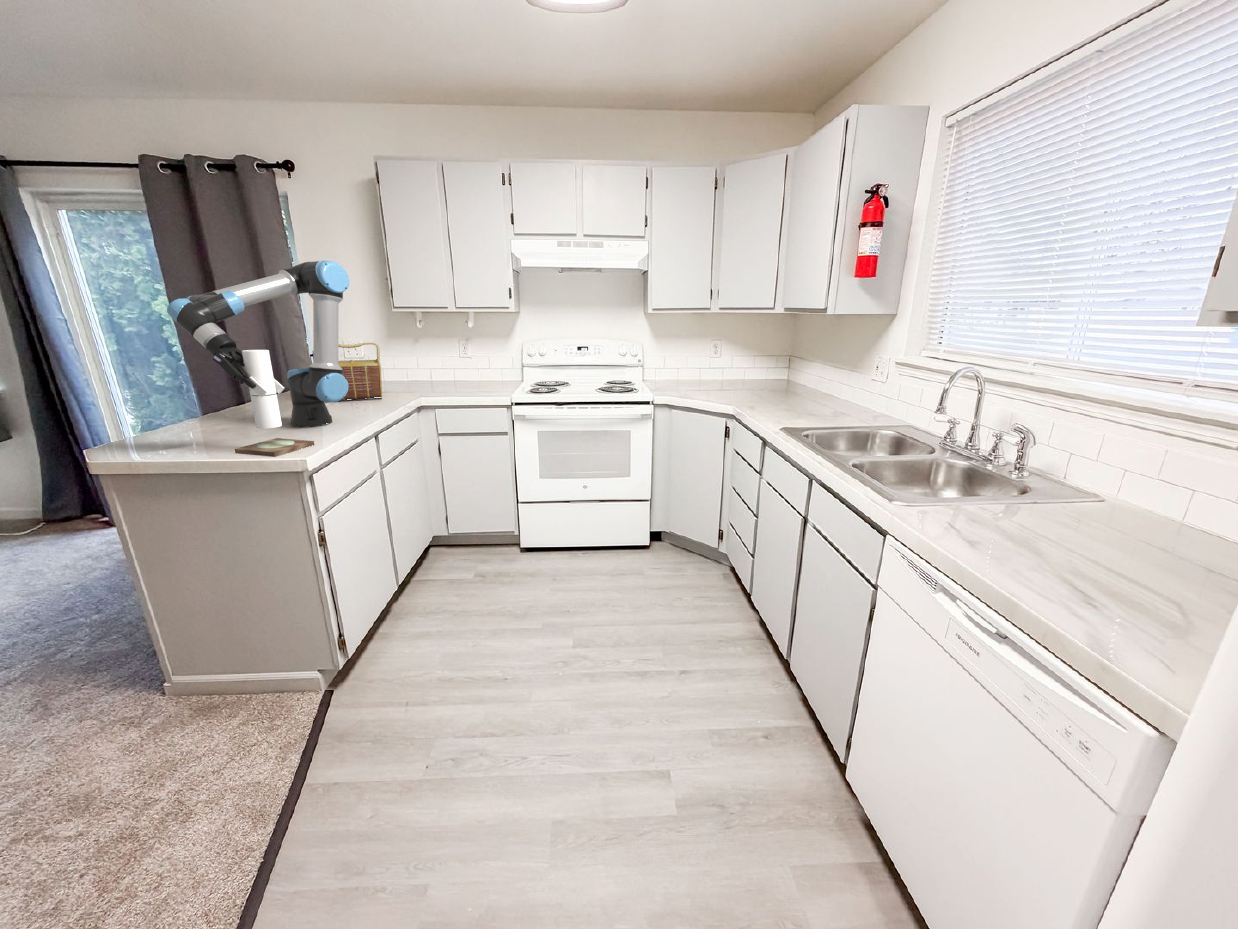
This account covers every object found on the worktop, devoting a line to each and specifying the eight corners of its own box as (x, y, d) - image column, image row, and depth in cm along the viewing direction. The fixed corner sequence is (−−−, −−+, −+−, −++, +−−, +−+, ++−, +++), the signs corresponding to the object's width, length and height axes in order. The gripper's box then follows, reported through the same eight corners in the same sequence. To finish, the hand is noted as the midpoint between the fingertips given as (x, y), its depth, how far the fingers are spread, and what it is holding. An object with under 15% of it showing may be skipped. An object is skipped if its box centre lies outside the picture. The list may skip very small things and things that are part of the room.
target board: (277, 442, 180) (276, 437, 180) (314, 445, 177) (313, 440, 176) (235, 453, 166) (234, 448, 165) (274, 456, 162) (273, 451, 161)
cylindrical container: (277, 423, 173) (264, 349, 166) (285, 426, 169) (272, 350, 162) (253, 426, 168) (238, 350, 161) (260, 429, 163) (245, 351, 156)
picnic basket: (325, 404, 256) (315, 344, 248) (326, 397, 278) (317, 341, 270) (387, 400, 270) (380, 343, 261) (383, 394, 291) (377, 341, 283)
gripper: (234, 347, 172) (288, 395, 175) (182, 351, 152) (243, 405, 156) (246, 331, 170) (300, 380, 174) (194, 333, 151) (256, 388, 154)
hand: (273, 392), depth 165 cm, fingers closed on cylindrical container, 7 cm apart
